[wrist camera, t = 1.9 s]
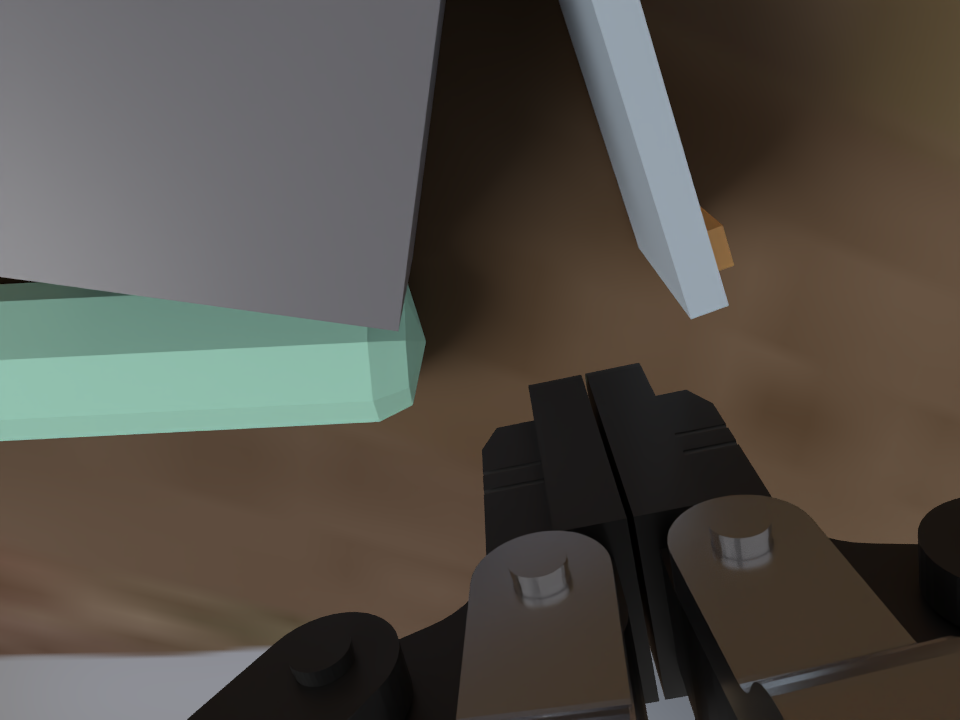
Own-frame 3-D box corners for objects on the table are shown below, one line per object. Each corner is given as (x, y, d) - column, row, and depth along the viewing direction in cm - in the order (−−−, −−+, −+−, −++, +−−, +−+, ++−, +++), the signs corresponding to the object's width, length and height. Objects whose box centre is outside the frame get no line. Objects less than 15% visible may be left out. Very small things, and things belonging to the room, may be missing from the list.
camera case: (101, -306, 23) (-71, -454, 15) (476, -236, 23) (482, -344, 16) (106, 213, 28) (-20, 287, 21) (412, 257, 29) (395, 343, 21)
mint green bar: (419, 337, 24) (-514, 383, 23) (432, 471, 28) (-358, 512, 27) (419, 212, 28) (-370, 248, 27) (430, 344, 32) (-254, 378, 31)
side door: (478, -233, 23) (485, -328, 17) (544, -263, 23) (578, -372, 16) (636, 249, 28) (689, 323, 22) (691, 228, 28) (761, 297, 22)
